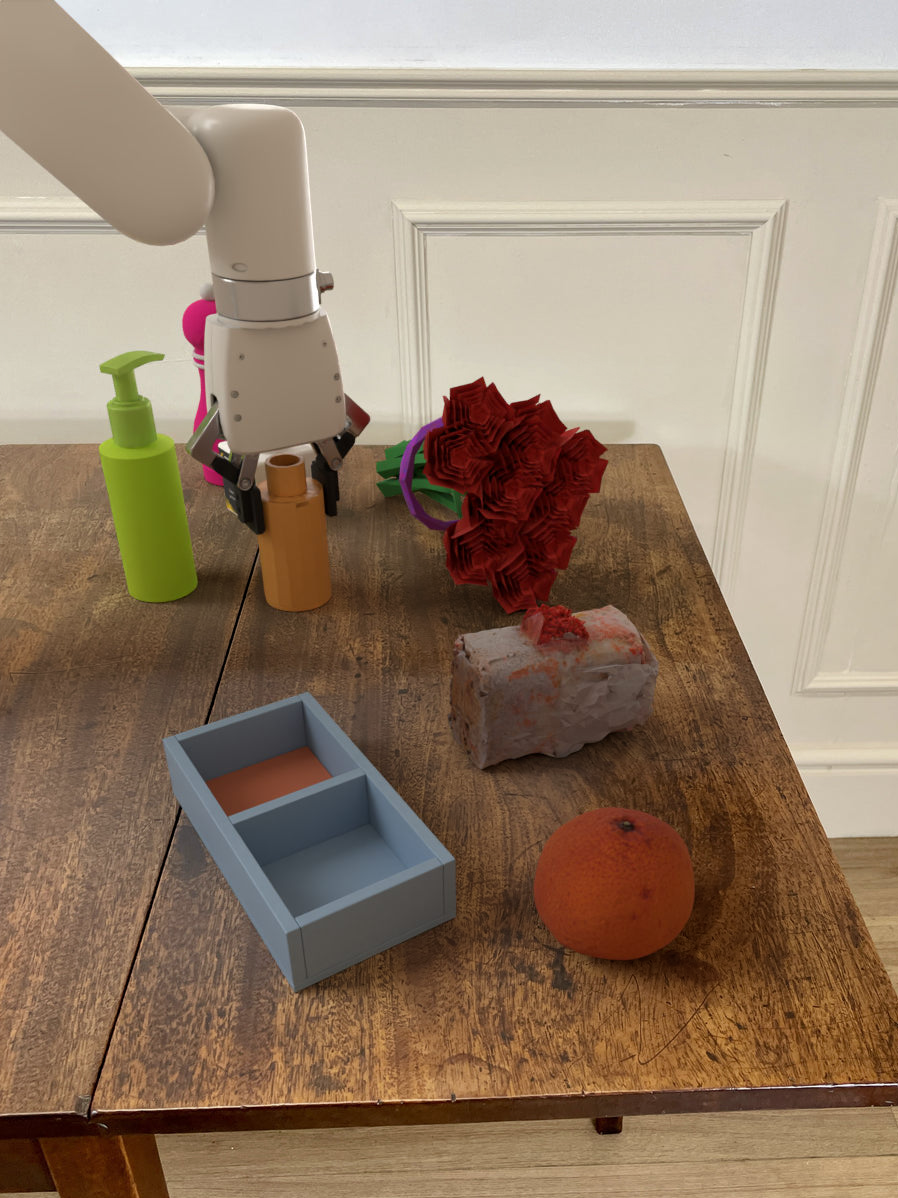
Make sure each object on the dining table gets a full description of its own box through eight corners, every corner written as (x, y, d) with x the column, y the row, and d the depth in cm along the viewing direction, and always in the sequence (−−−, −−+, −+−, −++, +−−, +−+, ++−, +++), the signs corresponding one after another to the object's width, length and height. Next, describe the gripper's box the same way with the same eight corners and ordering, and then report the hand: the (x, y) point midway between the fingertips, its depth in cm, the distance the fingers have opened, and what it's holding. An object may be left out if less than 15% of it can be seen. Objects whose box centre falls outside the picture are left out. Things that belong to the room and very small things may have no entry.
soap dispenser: (218, 574, 94) (184, 351, 83) (167, 608, 89) (123, 375, 77) (167, 560, 96) (126, 341, 84) (114, 593, 90) (63, 364, 79)
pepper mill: (185, 478, 111) (153, 284, 100) (235, 457, 116) (209, 270, 105) (233, 494, 108) (205, 295, 97) (282, 472, 113) (261, 281, 102)
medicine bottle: (225, 509, 105) (209, 393, 98) (288, 492, 109) (275, 378, 102) (260, 534, 101) (245, 414, 94) (323, 515, 105) (313, 398, 98)
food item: (605, 683, 81) (615, 570, 75) (658, 740, 75) (674, 622, 69) (441, 723, 76) (438, 606, 70) (484, 788, 70) (485, 665, 64)
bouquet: (465, 529, 117) (623, 589, 92) (328, 561, 110) (460, 636, 85) (445, 347, 109) (612, 360, 85) (296, 368, 102) (432, 390, 78)
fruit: (670, 870, 64) (685, 768, 59) (698, 986, 56) (718, 879, 52) (526, 872, 63) (530, 770, 59) (535, 990, 56) (541, 882, 51)
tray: (294, 993, 55) (286, 933, 53) (173, 794, 69) (161, 738, 66) (456, 917, 60) (455, 858, 58) (314, 744, 73) (308, 690, 71)
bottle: (281, 618, 88) (265, 479, 81) (255, 590, 92) (237, 455, 85) (342, 600, 90) (332, 465, 83) (314, 574, 94) (302, 442, 87)
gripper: (349, 272, 83) (362, 483, 93) (134, 298, 75) (174, 526, 85) (394, 293, 78) (402, 513, 88) (168, 323, 70) (207, 562, 80)
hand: (290, 517), depth 87 cm, fingers closed on bottle, 5 cm apart
